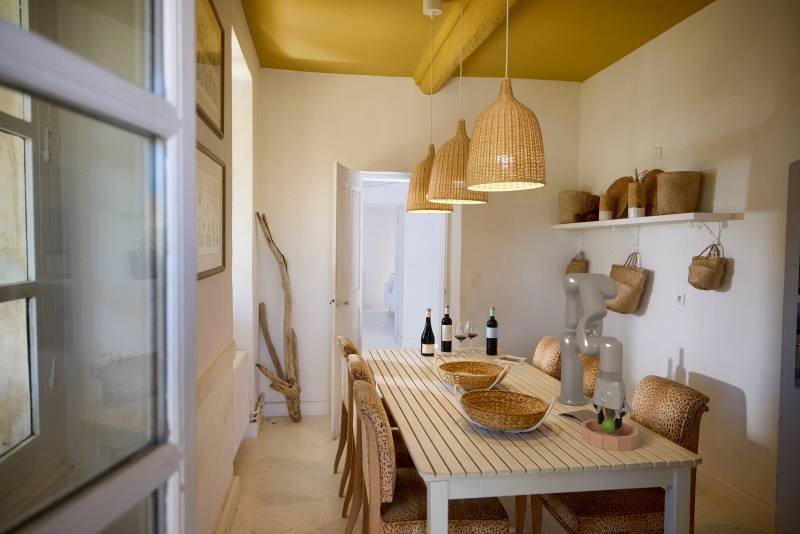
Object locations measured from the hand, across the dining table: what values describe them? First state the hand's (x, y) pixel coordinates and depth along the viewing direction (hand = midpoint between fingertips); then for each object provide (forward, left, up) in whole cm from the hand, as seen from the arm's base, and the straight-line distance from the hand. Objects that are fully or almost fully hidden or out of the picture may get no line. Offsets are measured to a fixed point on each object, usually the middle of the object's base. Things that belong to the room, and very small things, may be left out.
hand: (609, 425), depth 177 cm
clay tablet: (-14, -19, -6) cm, 24 cm away
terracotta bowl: (0, 0, -5) cm, 5 cm away
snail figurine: (0, 0, -3) cm, 3 cm away
